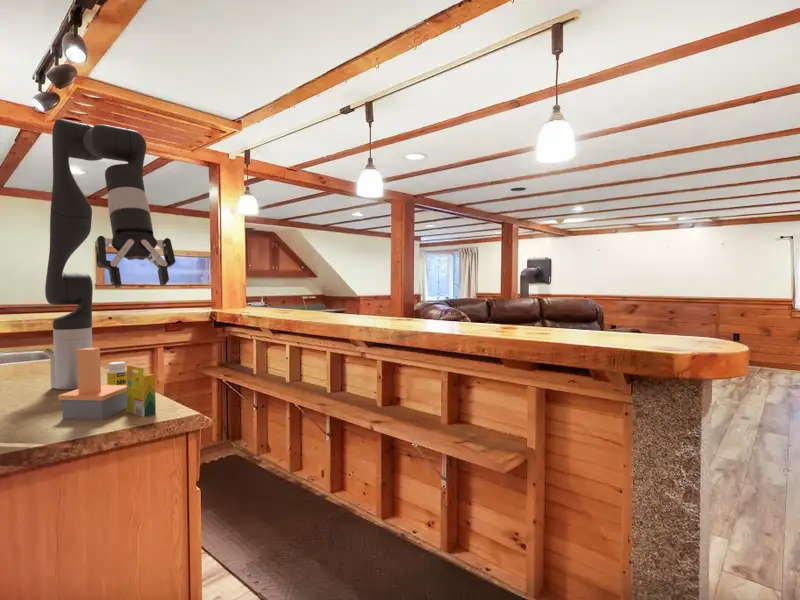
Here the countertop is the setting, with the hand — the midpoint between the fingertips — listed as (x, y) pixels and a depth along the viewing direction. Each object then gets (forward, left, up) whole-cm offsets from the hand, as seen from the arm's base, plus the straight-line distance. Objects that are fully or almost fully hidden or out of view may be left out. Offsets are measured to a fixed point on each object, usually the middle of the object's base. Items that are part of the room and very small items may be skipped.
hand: (141, 285), depth 94 cm
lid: (-17, +9, -26) cm, 32 cm away
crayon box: (-7, +10, -31) cm, 33 cm away
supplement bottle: (-26, +30, -31) cm, 50 cm away
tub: (-17, +9, -31) cm, 36 cm away
